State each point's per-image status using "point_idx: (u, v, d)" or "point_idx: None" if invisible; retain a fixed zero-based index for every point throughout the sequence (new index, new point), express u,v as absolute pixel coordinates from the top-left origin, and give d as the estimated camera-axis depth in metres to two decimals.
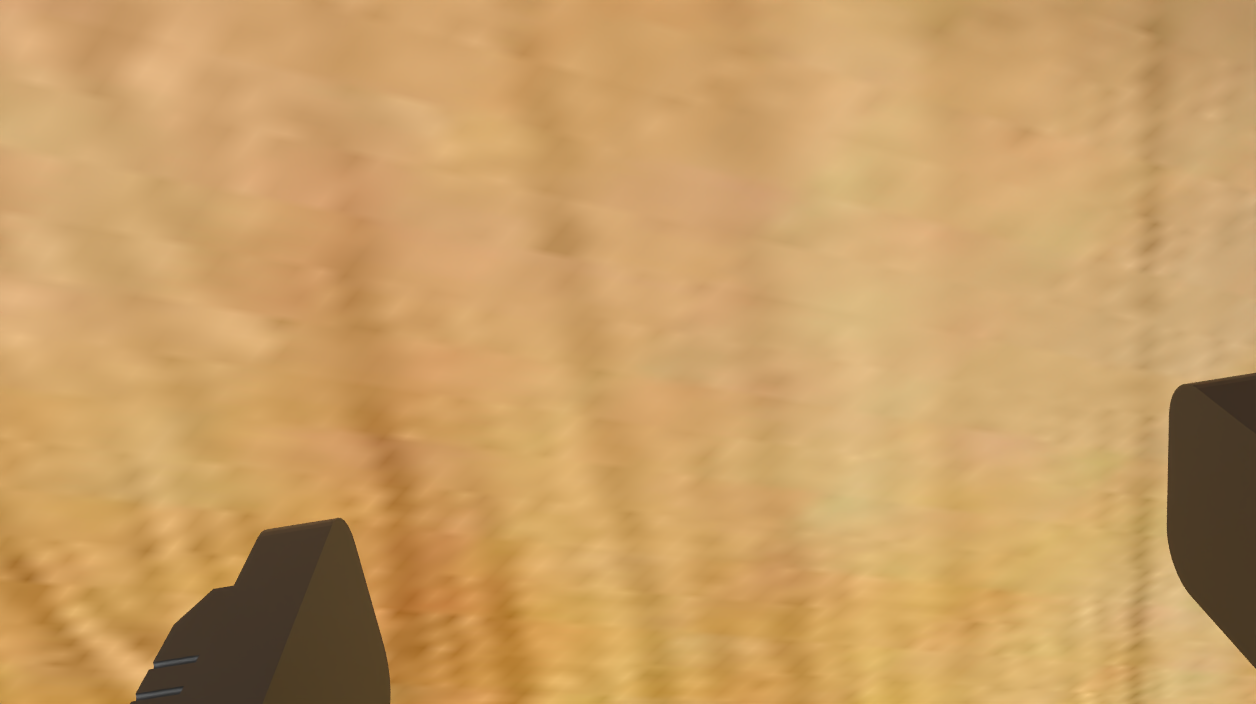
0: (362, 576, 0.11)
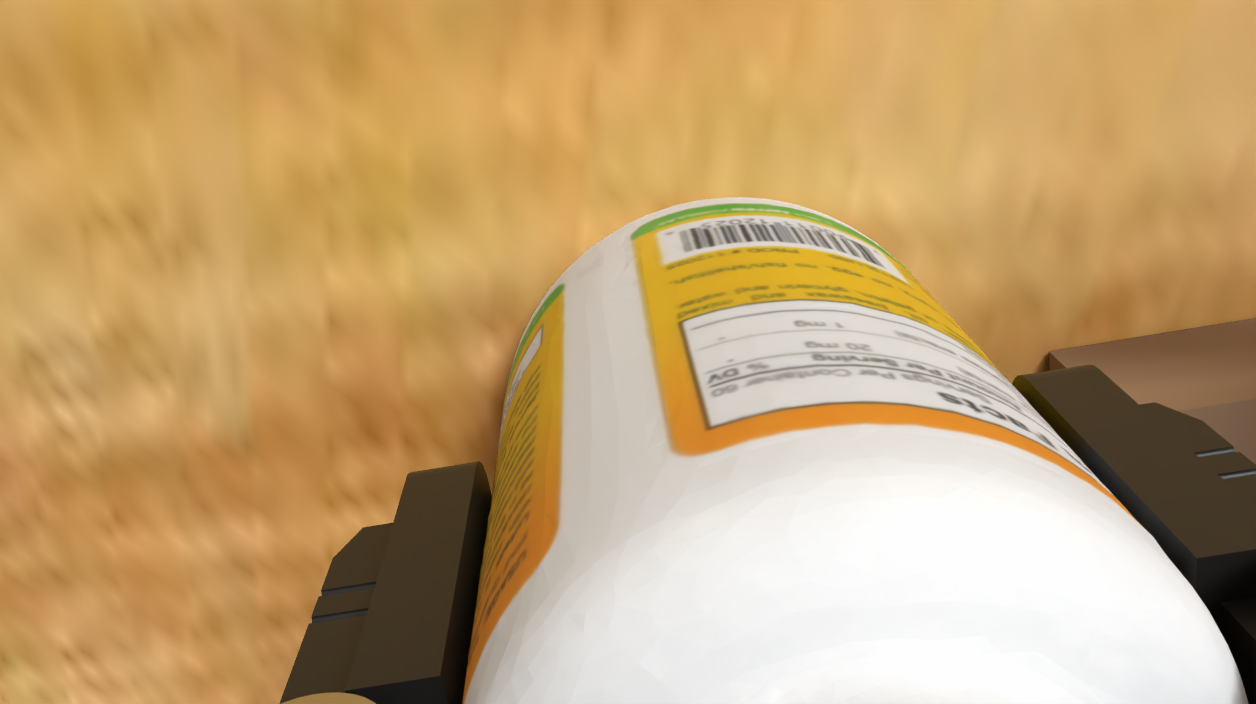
0: None
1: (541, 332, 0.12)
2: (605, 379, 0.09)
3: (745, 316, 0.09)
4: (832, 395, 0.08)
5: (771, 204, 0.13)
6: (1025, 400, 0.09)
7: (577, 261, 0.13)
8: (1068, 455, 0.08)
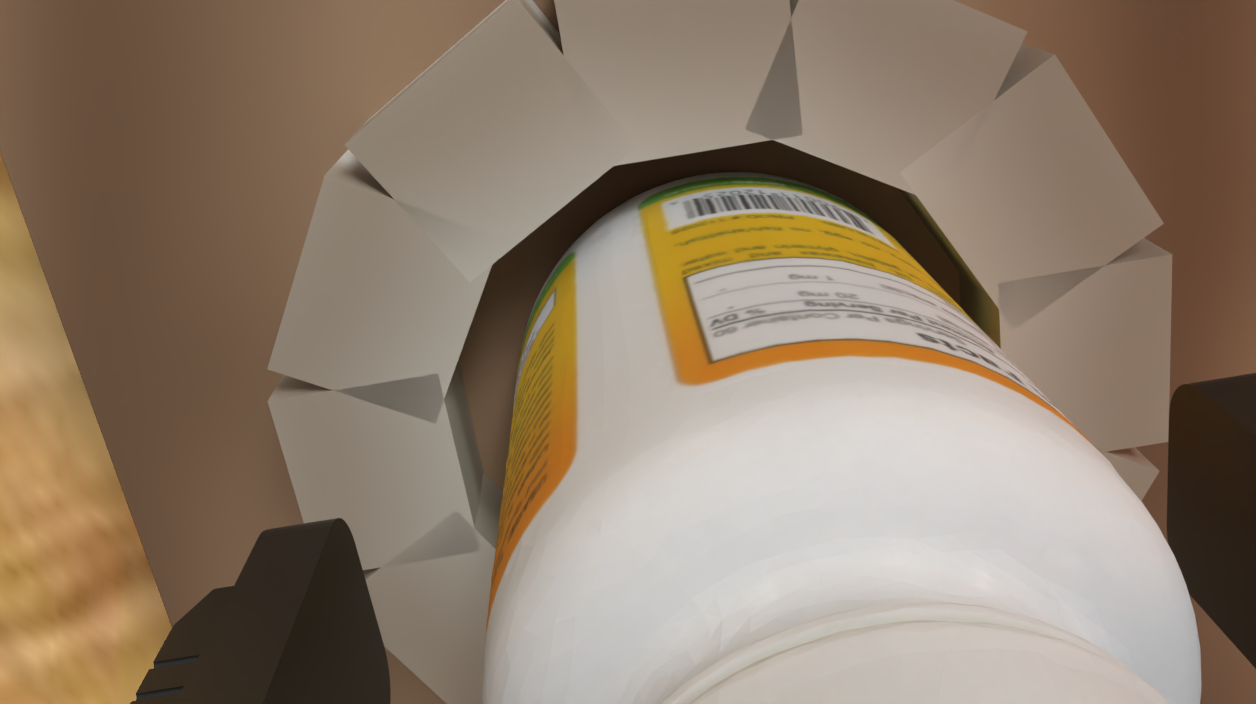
0: (362, 576, 0.11)
1: (554, 295, 0.13)
2: (615, 328, 0.10)
3: (744, 271, 0.10)
4: (821, 333, 0.08)
5: (768, 178, 0.13)
6: (999, 348, 0.10)
7: (587, 231, 0.14)
8: (1034, 390, 0.09)
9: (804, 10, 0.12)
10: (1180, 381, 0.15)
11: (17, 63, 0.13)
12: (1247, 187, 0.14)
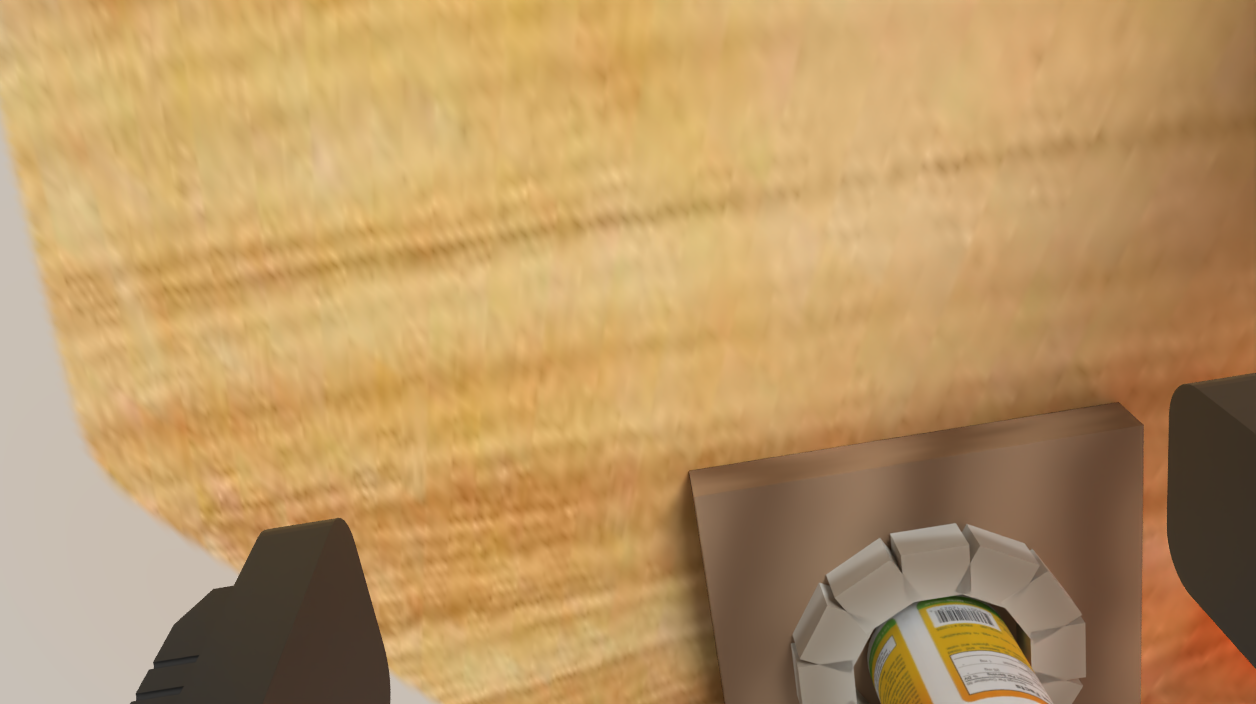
0: (362, 576, 0.11)
1: (893, 638, 0.41)
2: (933, 671, 0.38)
3: (966, 656, 0.38)
4: (994, 687, 0.37)
5: (956, 595, 0.42)
6: (1033, 676, 0.38)
7: None
8: (1043, 697, 0.37)
9: (974, 561, 0.40)
10: (1092, 648, 0.44)
11: (719, 561, 0.42)
12: (1113, 589, 0.43)
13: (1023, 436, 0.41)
